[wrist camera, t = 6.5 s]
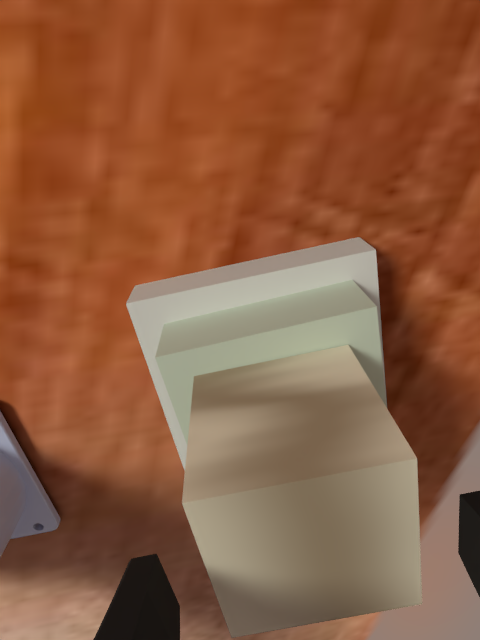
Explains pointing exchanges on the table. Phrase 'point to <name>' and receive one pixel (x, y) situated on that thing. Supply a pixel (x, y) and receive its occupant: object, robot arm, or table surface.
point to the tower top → (269, 338)
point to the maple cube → (301, 493)
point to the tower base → (244, 297)
